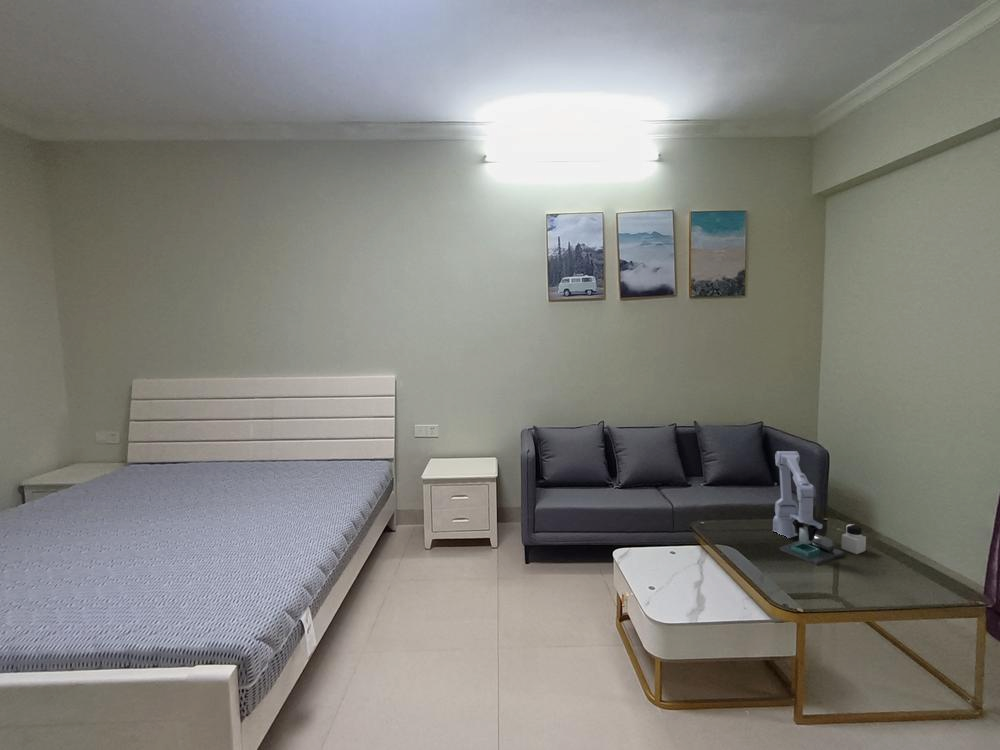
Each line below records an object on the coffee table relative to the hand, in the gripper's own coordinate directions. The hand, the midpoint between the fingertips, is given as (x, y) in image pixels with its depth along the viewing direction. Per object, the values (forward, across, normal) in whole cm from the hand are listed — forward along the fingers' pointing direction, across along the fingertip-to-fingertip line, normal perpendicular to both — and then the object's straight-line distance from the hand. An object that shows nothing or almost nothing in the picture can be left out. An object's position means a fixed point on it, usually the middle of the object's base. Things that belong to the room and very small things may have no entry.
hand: (805, 538), depth 235 cm
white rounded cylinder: (+2, 0, 0) cm, 2 cm away
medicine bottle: (+8, +8, +24) cm, 26 cm away
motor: (+8, 0, +4) cm, 9 cm away
